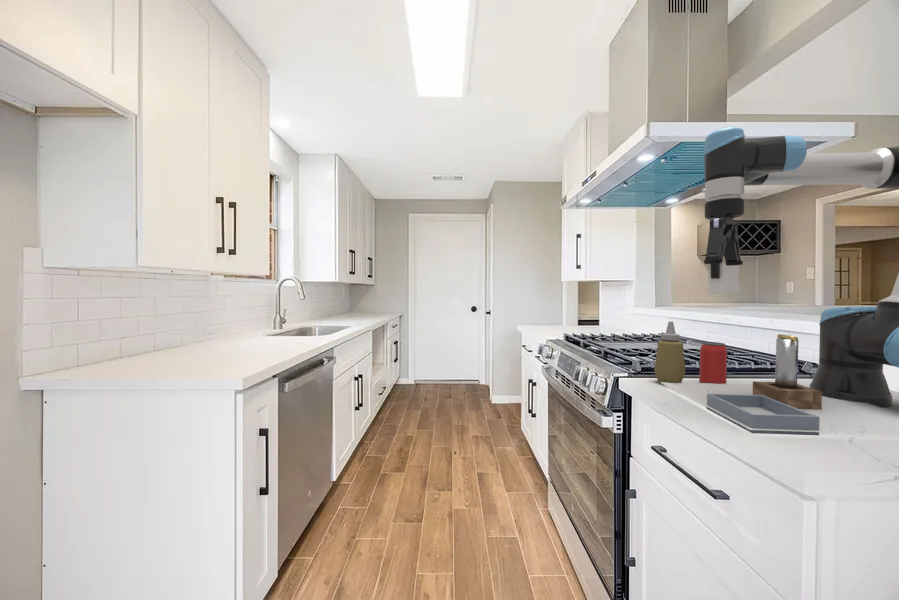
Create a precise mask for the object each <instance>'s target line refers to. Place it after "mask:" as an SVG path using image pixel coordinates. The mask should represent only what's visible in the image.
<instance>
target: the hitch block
mask: <svg viewBox="0 0 899 600" xmlns="http://www.w3.org/2000/svg"><path fill="white" fill-rule="evenodd" d="M751 395H763V396H766V397H769V398H771V399H774V400H776V401H779V402H782V403H784V404H787V405H790V406H792V407H795V408H797V409H800V410H812V411H813V410H814V411H815V410H816V411H817V410H819V411H821V410H822V409H823V408H822V406H823V396H822V391H818V390H815V389H812V388H809V386H805V385H803V384H802V385H801V384H799V383H797V389H781V388H778V387H775V381H752V394H751Z"/></svg>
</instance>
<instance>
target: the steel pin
mask: <svg viewBox="0 0 899 600" xmlns="http://www.w3.org/2000/svg"><path fill="white" fill-rule="evenodd" d="M775 341H776V343H775V366H774V367H775V369H774V370H775V372H774V374H775V375H774V382H775V387H778V388H781V389H797V384H798V372H799V371H798V369H799V366H798V365H799V339H798V337H797V336H795V335H788V334H781V333H778V334H777V335H776V339H775Z"/></svg>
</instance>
